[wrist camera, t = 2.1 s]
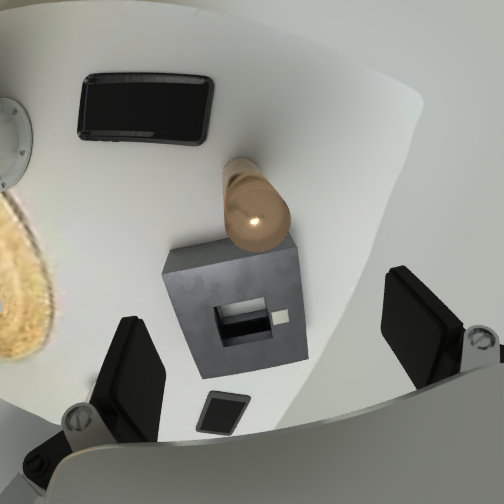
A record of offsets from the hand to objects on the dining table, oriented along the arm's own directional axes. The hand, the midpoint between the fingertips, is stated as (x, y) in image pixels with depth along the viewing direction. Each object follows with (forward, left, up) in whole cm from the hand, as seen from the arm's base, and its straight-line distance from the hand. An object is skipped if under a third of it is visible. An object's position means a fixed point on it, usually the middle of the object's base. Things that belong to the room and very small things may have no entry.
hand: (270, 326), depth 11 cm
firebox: (+14, -2, -25) cm, 28 cm away
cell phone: (+39, -11, -25) cm, 48 cm away
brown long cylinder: (-1, +1, -25) cm, 25 cm away
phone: (-11, -8, -25) cm, 29 cm away
